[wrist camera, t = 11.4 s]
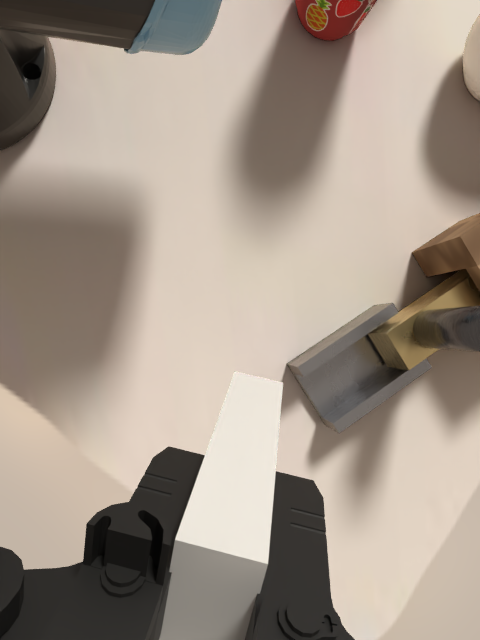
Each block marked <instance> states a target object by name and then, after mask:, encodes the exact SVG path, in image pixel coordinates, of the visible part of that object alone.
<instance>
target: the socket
mask: <svg viewBox="0 0 480 640" xmlns="http://www.w3.org/2000/svg"><path fill="white" fill-rule="evenodd" d="M412 254H413V255H414V257H415V259H416V260H417V262H418V264H419V265H420V267H421V269H422V270H423V272H424V274H425V275H426V277H429V276H434V275H438V274H443V273H447V272H452V271H456V270H461V269H466V270H467V271H468V273H469V275H470V276H471V278H472V280H473V282H474V283H475V285H476V287H477V288H478V290H479V292H480V213H479V214H476V215H474V216H471V217H469V218H466V219H464V220H461V221H459V222H458V223H456V224H454V225H453V226H451V227H450V228H448V229H447V230H445V231H444V232H442V233H441V234H439V235H438V236H436V237H435V238H433V239H432V240H430V241H429V242H427V243H426V244H424V245H423V246H421V247H420V248H418V249H416V250H415V251H413V252H412Z"/></svg>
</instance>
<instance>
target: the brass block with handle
mask: <svg viewBox="0 0 480 640" xmlns="http://www.w3.org/2000/svg"><path fill="white" fill-rule="evenodd" d="M368 335H369V337H370V338H371V340H372V342H373V343H374V345H375V347H376V348H377V350H378V352H379V353H380V355H381V356H382V358H383V360H384V361H385V363H386V365H387V366H388V367H392V368H398V369H404V370H410V369H412V368H413V367H415V366H416V365H417V364H419V363H420V362H422V361H423V360H425V359H426V358H427V357H429V356H430V355H432V354H433V353H434V352H436V351H437V350H439V349H450V350H465V351H480V292H479V290H478V288H477V287H476V285H475V283H474V282H473V280H472V278H471V276H470V275H469V273H468V271H467V270H466V269H461V270H460V271H458V272H457V273H455V274H454V275H452V276H451V277H449V278H448V279H446V280H445V281H443V282H442V283H440V284H439V285H438V286H436V287H435V288H433V289H432V290H430V291H429V292H427V293H426V294H424V295H423V296H421V297H420V298H418V299H417V300H415V301H414V302H413V303H411V304H410V305H408V306H407V307H405V308H404V309H402V310H401V311H399V313H398V314H396V315H395V316H393V317H392V318H390V319H389V320H387V321H386V322H384V323H383V324H381V325H380V326H378V327H377V328H376V329H374V330H373V331H371V332H370V333H368Z"/></svg>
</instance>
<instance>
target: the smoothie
mask: <svg viewBox="0 0 480 640" xmlns="http://www.w3.org/2000/svg"><path fill="white" fill-rule="evenodd" d="M376 1H377V0H295V2H296V6H297V11H298V16H299V19H300V21H301V23H302V25H303V26H304V27H305V29H306V30H307V31H308V32H309V33H310V34H312V35H313V36H314V37H317V38H319V39H322V40H332V41H333V40H336V39H340V38H342V37H343V36H345V35H349V34H351V33H352V32H353V31H355V30H356V29H357V28H358V27H359V26H360V24H361V23H362V21H363V20H364V18H365V17H366V16H367V14H368V13H369V11H370V10H371V9H372V7H373V6H374V4H375V3H376Z"/></svg>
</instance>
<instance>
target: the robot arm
mask: <svg viewBox="0 0 480 640" xmlns="http://www.w3.org/2000/svg"><path fill="white" fill-rule="evenodd" d="M221 2H222V0H0V150H3V149H5V148H7V147H9V146H11V145H13V144H15V143H16V142H18V141H19V140H21V139H22V138H24V137H25V136H26V135H27V134H29V133H30V132H31V131H32V130H33V129H34V128H35V127H36V125H37V124H38V123H39V122H40V120H41V119H42V117H43V116H44V114H45V113H46V111H47V109H48V107H49V105H50V102H51V99H52V96H53V93H54V88H55V81H56V65H55V58H54V53H53V49H52V46H51V43H50V41H49V38H48V37H54V38H60V39H67V40H73V41H80V42H86V43H93V44H99V45H105V46H112V47H118V48H124V51H125V52H126V53H129V54H134V53H138V52H139V51H147V52H156V53H166V54H175V55H184V54H189V53H192V52H193V51H195V50H196V49H198V48H199V47H200V46H202V44H203V43H204V42H205V41H206V40H207V38H208V37H209V35H210V33H211V31H212V29H213V26H214V24H215V21H216V18H217V15H218V12H219V9H220V5H221ZM282 391H283V382H279V381H275V380H271V379H266V378H262V377H258V376H253V375H249V374H245V373H240V372H236V371H235V372H234V375H233V378H232V381H231V384H230V386H229V389H228V392H227V395H226V398H225V400H224V403H223V406H222V409H221V412H220V415H219V417H218V420H217V423H216V426H215V429H214V431H213V434H212V437H211V440H210V443H209V445H208V448H207V451H206V454H205V455H201V454H197V453H193V452H189V451H185V450H181V449H177V448H173V447H167V448H166V449H164V450H163V451H162V452H160V453H159V454H157V455H156V456H155V457H153V459H152V461H151V463H150V465H149V466H148V468H147V470H146V472H145V475H143V477H142V479H141V481H140V483H139V485H138V488H137V489H136V490H135V492H134V494H133V496H132V497H131V499H130V501H129V502H126V503H120V504H115V505H111V506H109V507H107V508H105V509H103V510H101V511H99V512H97V513H96V514H95V515H94V516H93V518H92V519H91V520H90V521H89V522H88V523H87V528H86V538H85V548H84V559H83V562H81V563H78V564H75V565H72V566H69V567H61V568H52V569H30V570H24V569H23V565H22V560H21V559H20V558H19V557H18V556H17V555H16V554H15V553H14V552H13V551H12V550H9V549H6V548H3V547H0V640H355V639H354V638H353V637H352V636H351V635H350V634H349V633H348V632H347V631H346V630H345V628H344V627H343V625H342V623H341V620H340V617H339V616H338V614H337V613H336V611H335V610H334V608H333V604H332V599H331V592H330V579H329V566H328V553H327V540H326V535H325V532H326V527H325V519H324V516H325V515H324V502H323V497H322V495H321V493H320V491H319V490H318V488H317V486H316V484H315V483H314V481H313V480H309V479H305V478H301V477H297V476H293V475H289V474H285V473H280V472H276V462H277V451H278V439H279V427H280V415H281V403H282Z"/></svg>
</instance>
